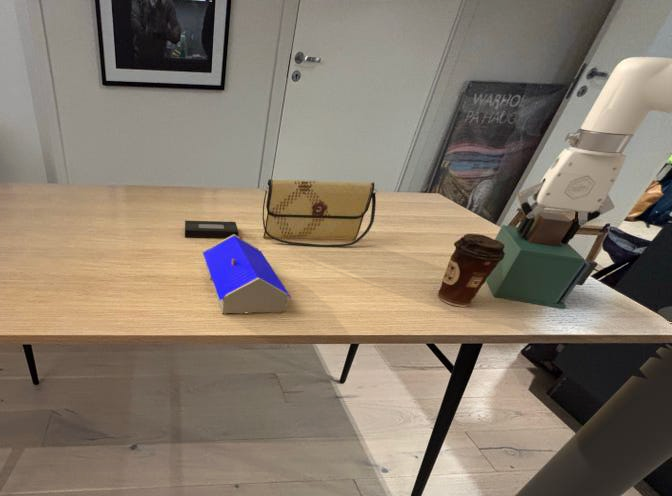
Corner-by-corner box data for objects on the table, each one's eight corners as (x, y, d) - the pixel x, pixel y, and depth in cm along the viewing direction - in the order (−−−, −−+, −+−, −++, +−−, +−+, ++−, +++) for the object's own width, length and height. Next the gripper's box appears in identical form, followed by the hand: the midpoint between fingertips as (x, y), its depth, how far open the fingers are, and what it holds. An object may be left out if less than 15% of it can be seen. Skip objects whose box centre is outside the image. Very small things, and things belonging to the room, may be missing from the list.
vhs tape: (184, 227, 111) (185, 220, 109) (234, 228, 111) (235, 221, 110) (185, 237, 105) (185, 230, 103) (237, 238, 105) (238, 231, 104)
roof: (202, 265, 91) (203, 234, 87) (259, 263, 93) (263, 233, 89) (218, 314, 74) (221, 279, 70) (288, 311, 76) (295, 277, 72)
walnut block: (549, 238, 83) (564, 214, 80) (557, 246, 79) (573, 222, 76) (522, 234, 84) (536, 211, 81) (529, 242, 81) (543, 218, 77)
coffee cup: (431, 303, 81) (460, 243, 72) (428, 286, 87) (455, 229, 79) (478, 313, 78) (514, 251, 70) (472, 295, 84) (505, 236, 76)
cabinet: (541, 277, 92) (569, 234, 86) (564, 309, 81) (599, 261, 74) (479, 267, 95) (502, 224, 89) (493, 296, 84) (521, 249, 77)
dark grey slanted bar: (573, 290, 85) (599, 253, 80) (587, 306, 79) (616, 268, 74) (547, 285, 86) (572, 249, 81) (559, 302, 81) (586, 264, 75)
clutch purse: (259, 245, 102) (268, 184, 93) (255, 235, 108) (263, 177, 98) (370, 248, 103) (390, 188, 94) (360, 238, 109) (378, 180, 99)
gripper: (550, 141, 70) (497, 238, 81) (670, 152, 65) (597, 252, 77) (537, 135, 75) (490, 226, 87) (647, 144, 71) (583, 239, 82)
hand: (541, 238), depth 81 cm, fingers open, 6 cm apart
